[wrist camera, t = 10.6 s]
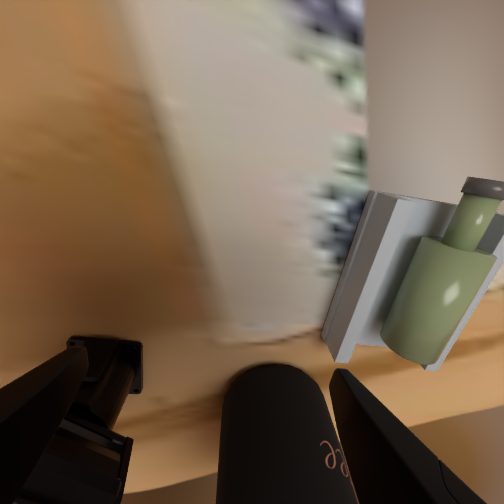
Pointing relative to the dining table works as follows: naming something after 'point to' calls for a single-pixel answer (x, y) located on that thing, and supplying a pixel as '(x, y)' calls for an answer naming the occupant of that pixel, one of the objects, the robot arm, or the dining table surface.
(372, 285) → the u rest
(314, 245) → the dining table surface
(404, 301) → the oil bottle
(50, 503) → the robot arm
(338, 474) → the coffee jar
